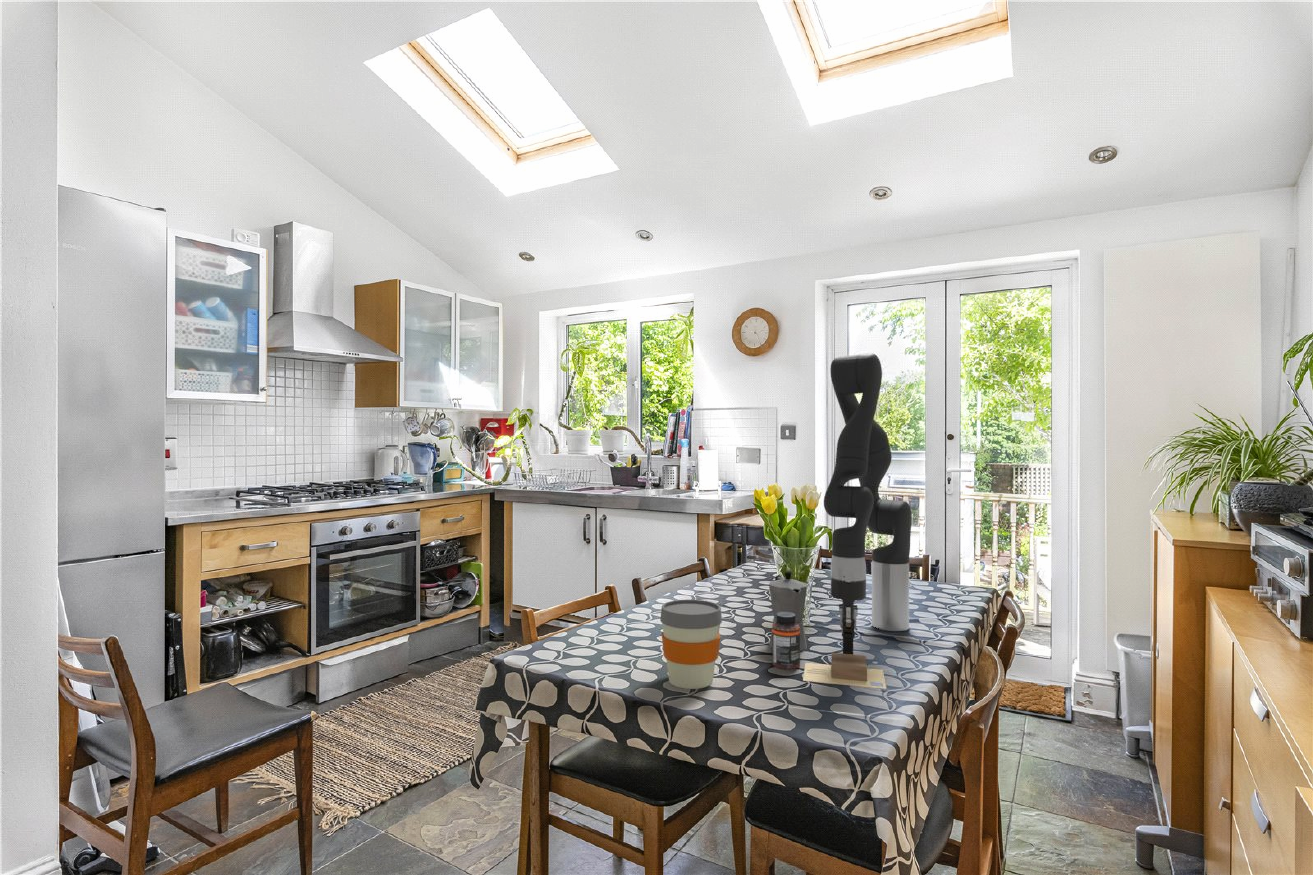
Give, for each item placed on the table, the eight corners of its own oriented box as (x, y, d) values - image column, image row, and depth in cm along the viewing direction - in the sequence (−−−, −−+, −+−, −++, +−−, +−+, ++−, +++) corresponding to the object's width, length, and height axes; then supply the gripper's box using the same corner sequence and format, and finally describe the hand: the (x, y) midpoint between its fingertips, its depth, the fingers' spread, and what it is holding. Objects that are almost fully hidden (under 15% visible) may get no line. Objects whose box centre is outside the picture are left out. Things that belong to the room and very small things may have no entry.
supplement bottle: (780, 659, 147) (780, 608, 147) (805, 665, 143) (805, 613, 143) (767, 666, 142) (767, 614, 142) (791, 673, 138) (792, 619, 138)
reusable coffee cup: (719, 670, 140) (720, 599, 140) (723, 693, 127) (724, 615, 127) (660, 669, 140) (661, 598, 140) (658, 691, 128) (659, 614, 128)
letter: (805, 664, 144) (805, 662, 144) (882, 671, 139) (882, 669, 139) (802, 681, 133) (802, 680, 133) (886, 690, 129) (886, 688, 129)
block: (831, 666, 141) (831, 652, 141) (865, 669, 139) (865, 655, 139) (831, 678, 135) (831, 663, 135) (867, 681, 133) (867, 666, 133)
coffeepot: (817, 656, 149) (817, 576, 149) (777, 657, 148) (777, 577, 148) (794, 635, 164) (794, 563, 164) (757, 637, 163) (758, 564, 163)
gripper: (831, 569, 153) (830, 643, 153) (830, 581, 140) (830, 662, 140) (865, 571, 151) (864, 646, 151) (867, 583, 138) (866, 665, 138)
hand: (848, 654), depth 146 cm, fingers closed
